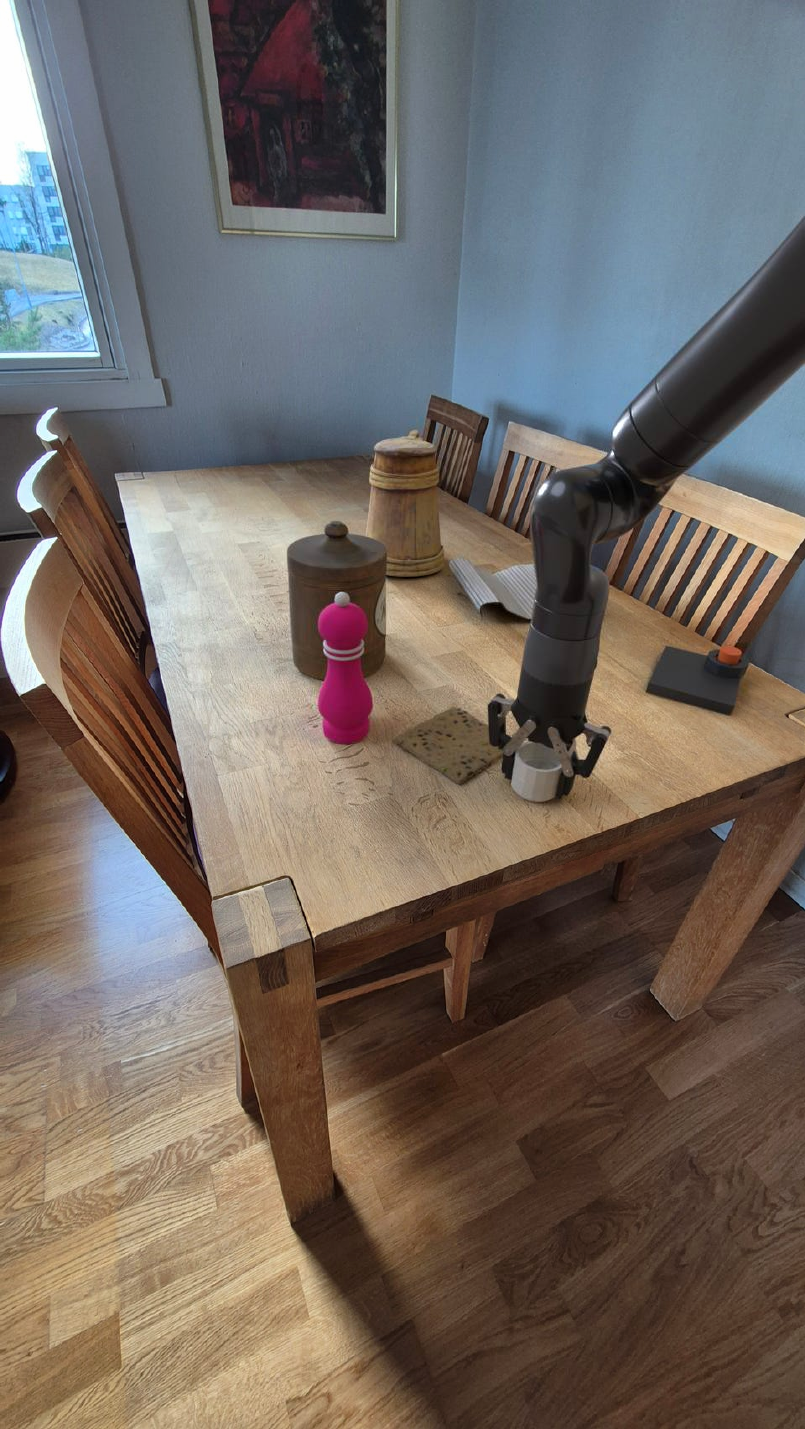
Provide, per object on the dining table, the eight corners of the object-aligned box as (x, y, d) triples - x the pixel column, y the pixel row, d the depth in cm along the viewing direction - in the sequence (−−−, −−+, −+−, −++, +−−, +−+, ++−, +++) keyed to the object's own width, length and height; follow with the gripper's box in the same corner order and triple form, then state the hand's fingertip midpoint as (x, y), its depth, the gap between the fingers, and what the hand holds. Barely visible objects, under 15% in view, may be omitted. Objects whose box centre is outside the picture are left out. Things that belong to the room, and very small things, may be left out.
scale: (743, 674, 100) (750, 655, 98) (733, 716, 90) (741, 696, 88) (663, 654, 105) (668, 635, 103) (645, 692, 95) (651, 672, 93)
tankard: (354, 577, 129) (351, 448, 115) (371, 539, 148) (370, 425, 134) (441, 583, 128) (450, 453, 114) (447, 544, 147) (454, 429, 133)
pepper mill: (308, 728, 85) (298, 590, 73) (350, 709, 89) (347, 576, 78) (341, 753, 80) (336, 611, 69) (383, 732, 85) (385, 594, 73)
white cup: (565, 782, 77) (572, 750, 74) (549, 810, 73) (556, 777, 70) (520, 767, 79) (525, 735, 76) (503, 793, 75) (508, 760, 72)
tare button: (739, 658, 98) (742, 649, 97) (737, 667, 96) (740, 657, 95) (718, 653, 99) (722, 644, 98) (716, 661, 97) (719, 651, 96)
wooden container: (402, 667, 99) (407, 529, 87) (317, 691, 92) (309, 546, 80) (358, 630, 109) (356, 502, 97) (278, 649, 103) (266, 515, 90)
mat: (600, 619, 115) (606, 596, 113) (477, 627, 112) (480, 603, 109) (554, 572, 134) (557, 551, 131) (447, 577, 130) (449, 555, 128)
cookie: (452, 707, 90) (453, 702, 89) (520, 746, 83) (521, 740, 82) (391, 740, 83) (391, 735, 82) (458, 785, 76) (459, 779, 75)
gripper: (481, 660, 66) (468, 782, 76) (617, 699, 60) (585, 825, 70) (507, 633, 72) (492, 749, 81) (635, 666, 66) (602, 787, 75)
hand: (535, 784), depth 75 cm, fingers closed on white cup, 6 cm apart
